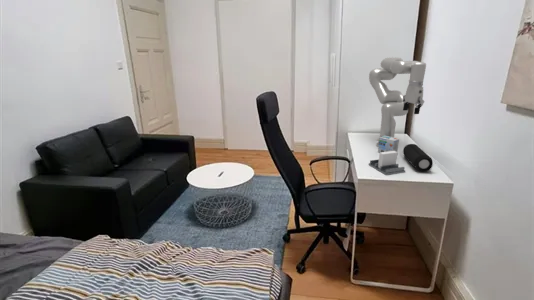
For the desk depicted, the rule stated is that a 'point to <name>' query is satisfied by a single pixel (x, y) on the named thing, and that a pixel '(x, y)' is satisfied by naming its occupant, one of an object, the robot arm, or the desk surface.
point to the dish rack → (387, 168)
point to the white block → (387, 158)
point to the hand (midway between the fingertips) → (410, 112)
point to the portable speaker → (417, 157)
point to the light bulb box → (388, 144)
